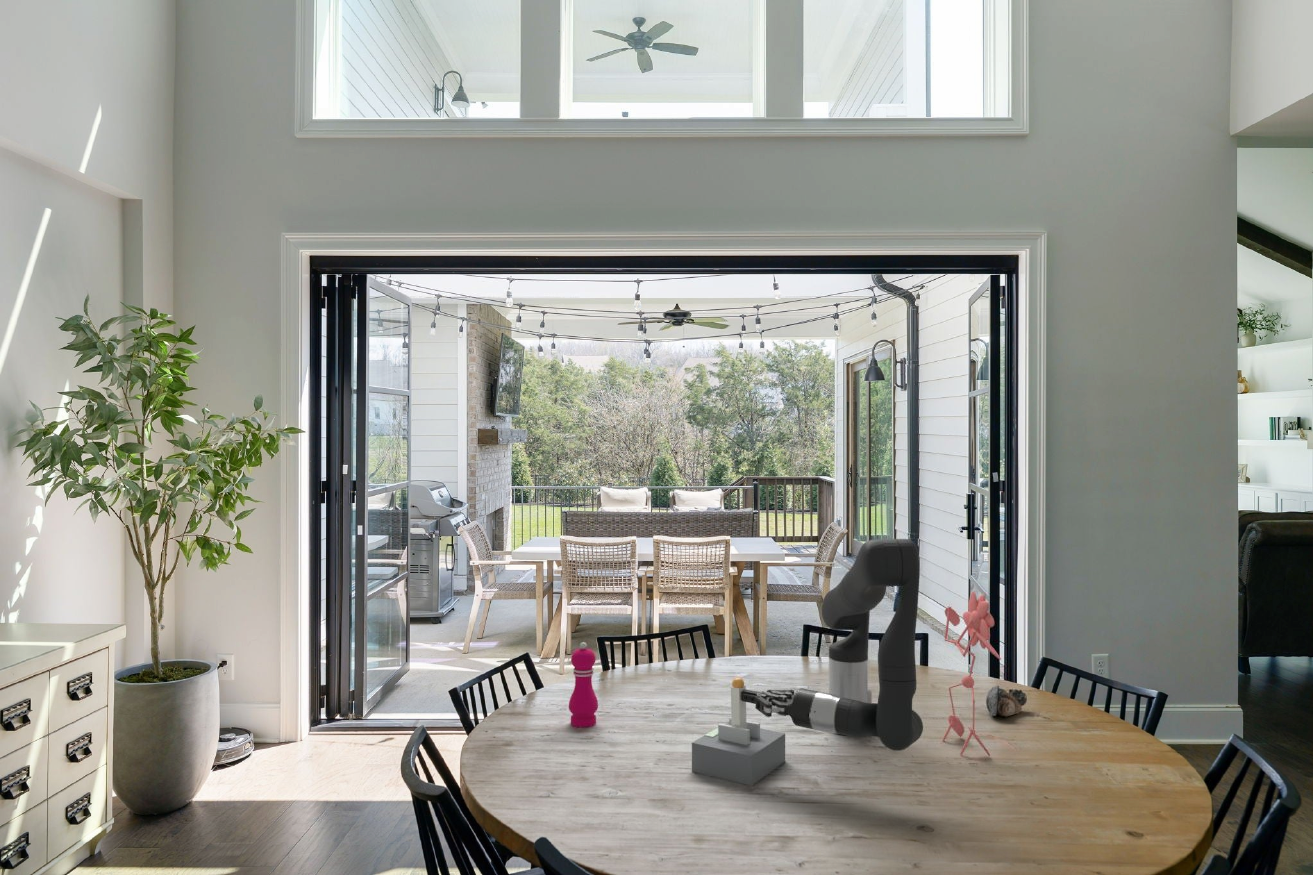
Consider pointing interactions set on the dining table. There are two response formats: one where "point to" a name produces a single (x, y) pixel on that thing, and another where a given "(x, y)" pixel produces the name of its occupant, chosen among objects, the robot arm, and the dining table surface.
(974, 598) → the pink flower figurine
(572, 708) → the pepper mill
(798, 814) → the dining table surface
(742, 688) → the lever
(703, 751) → the box
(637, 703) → the dining table surface
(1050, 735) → the dining table surface
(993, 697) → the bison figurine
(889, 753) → the dining table surface
